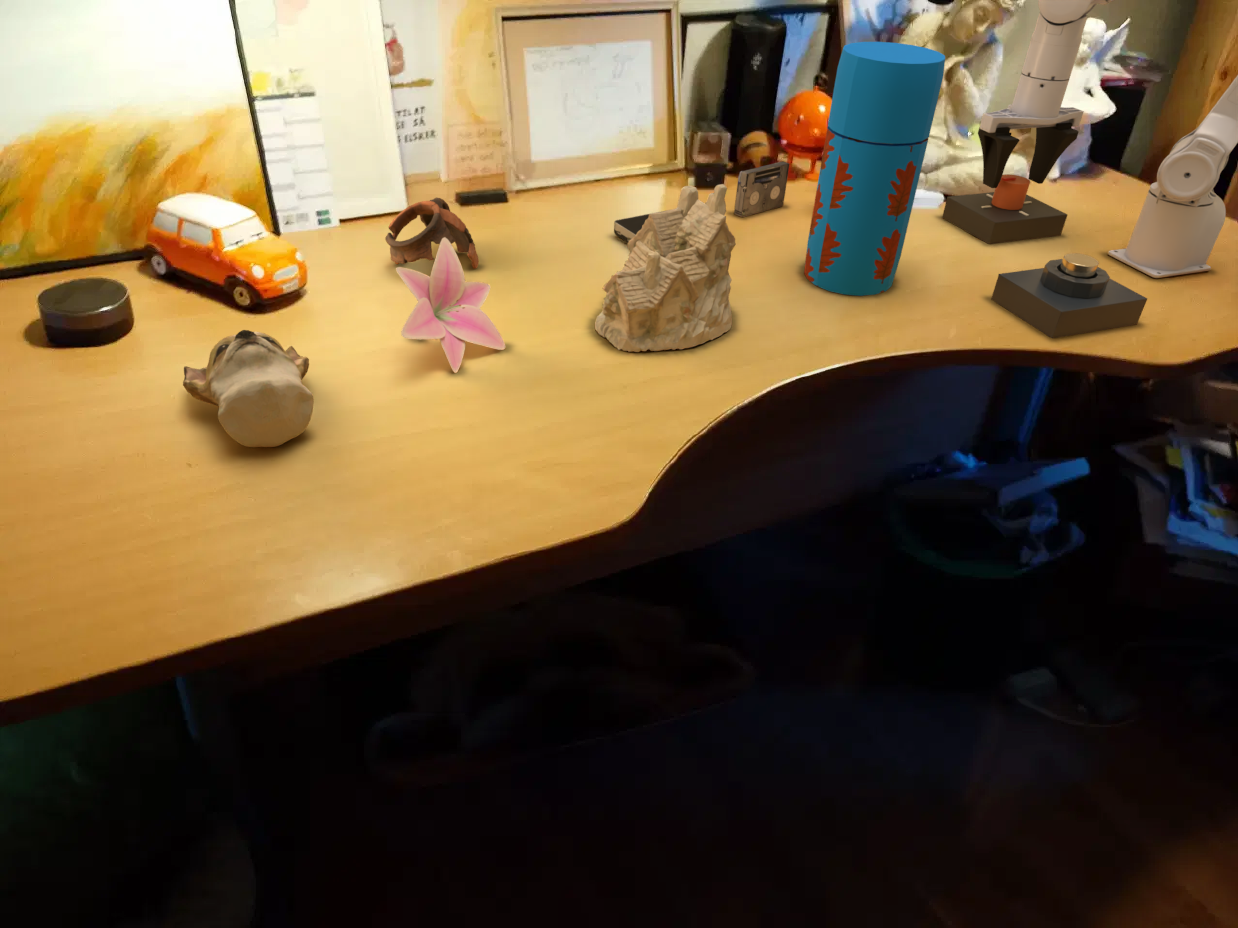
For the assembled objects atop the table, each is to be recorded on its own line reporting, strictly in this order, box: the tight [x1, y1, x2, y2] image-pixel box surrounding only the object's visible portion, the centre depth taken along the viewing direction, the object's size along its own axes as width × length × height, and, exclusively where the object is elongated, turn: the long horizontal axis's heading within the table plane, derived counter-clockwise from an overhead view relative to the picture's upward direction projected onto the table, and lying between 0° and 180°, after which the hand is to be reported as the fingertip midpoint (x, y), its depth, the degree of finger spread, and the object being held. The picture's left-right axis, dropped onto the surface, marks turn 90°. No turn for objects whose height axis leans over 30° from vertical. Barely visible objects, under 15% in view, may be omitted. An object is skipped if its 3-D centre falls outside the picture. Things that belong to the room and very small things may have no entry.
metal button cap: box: [1059, 252, 1100, 279], centre depth 100 cm, size 4×4×2 cm
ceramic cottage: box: [594, 183, 737, 353], centre depth 94 cm, size 16×16×15 cm
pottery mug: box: [384, 197, 480, 270], centre depth 106 cm, size 12×10×8 cm
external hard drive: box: [613, 209, 669, 243], centre depth 115 cm, size 7×11×2 cm, turn 122°
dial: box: [992, 174, 1031, 210], centre depth 121 cm, size 4×4×4 cm
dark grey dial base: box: [941, 191, 1068, 245], centre depth 123 cm, size 12×10×3 cm
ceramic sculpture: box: [182, 329, 315, 448], centre depth 77 cm, size 11×9×15 cm
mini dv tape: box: [733, 161, 790, 218], centre depth 124 cm, size 8×2×6 cm, turn 128°
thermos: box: [803, 41, 946, 297], centre depth 101 cm, size 11×11×25 cm
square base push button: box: [990, 258, 1148, 339], centre depth 101 cm, size 12×10×5 cm
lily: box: [395, 237, 506, 374], centre depth 88 cm, size 12×12×10 cm
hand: (1012, 183), depth 121 cm, fingers open, 7 cm apart
